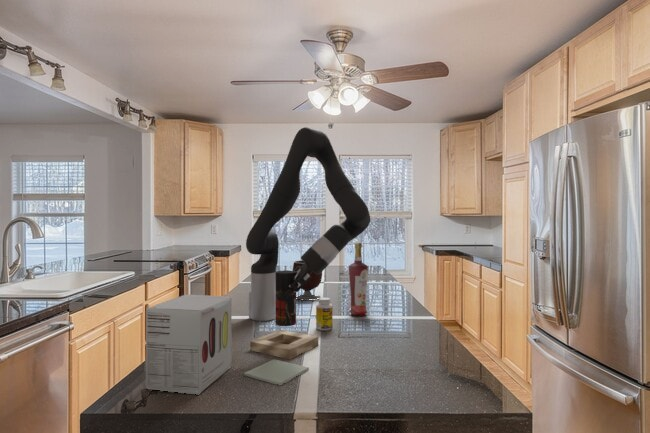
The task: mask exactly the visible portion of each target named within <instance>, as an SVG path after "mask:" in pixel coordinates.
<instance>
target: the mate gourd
mask: <svg viewBox="0 0 650 433" xmlns="http://www.w3.org/2000/svg"><path fill="white" fill-rule="evenodd" d="M303 264H304V262H303V261H302V260H301V259H300V260H296V261H293V265H292V271H293V270H294V269H295V268H296V267H297V266H300V267H301V266H302V265H303ZM310 276H311V277H312V278H311V280H309V281H308V282H307V283H306V284H305V285H304V286H303V287H302V288H301V289H300V290H303V291H304V292H303V295H302V294H299V295H300V296H298V297H296V298H297V299H303V300H309V299H317V298H321V295H319V294H317V295H318V296H315V295H316V294H313V295H312V292H311V291H313V290H314V289H316V288H317V287H319V286H320V284H321V282H322V278H323V271H322V272H321V273H320V274H319V275H317V274H316V273H314V272H312V273H311V275H310ZM296 286H297V285H296Z"/></svg>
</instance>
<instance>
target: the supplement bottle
mask: <svg viewBox="0 0 650 433" xmlns="http://www.w3.org/2000/svg"><path fill="white" fill-rule="evenodd" d="M333 308H334V307H333V304H332V303H331V298H330V297H320V298H319V299H318V303H317V304H316V306H315V309H316V310H315V320H316V321H315V328H316V329H317V330H318V331H330V330H332V329H333Z"/></svg>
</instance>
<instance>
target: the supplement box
mask: <svg viewBox="0 0 650 433" xmlns="http://www.w3.org/2000/svg"><path fill="white" fill-rule="evenodd" d="M232 299H233V298H232V296H230V295H229V296H226V295H224V296H223V295H208V294H206V295H205V294H203V295H202V294H183V295H180V296H178V297H174V298H172V299H169V300H165V301H163V302H161V303H157V304H155V305H152V306H149V307H147V308H146V307H145V308H146V311H145V314H146V315H145V316H146V318H145V322H146V324H145V325H146V326H145V329H146V330H145V389H146V388H148V389H155V390H160V391H159V392H163V391H168V392H167V393H174V392H178V393H177V394H184V393H186V394H185V395H195V394H196V396H197V395H201V393H203V392H204V391H205V389H207V388H208V387H209V386H211V385H212V384H214V382H216V380H217V379H219V378H220V377H221V376H223V375H224V374H225V373H226V372H227V371H229V370H230V369H231V368H232V322H233V321H232V317H233V316H232V314H233V313H232V312H233V311H232V310H233V307H232V305H233V302H232Z"/></svg>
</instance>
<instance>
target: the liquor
mask: <svg viewBox="0 0 650 433" xmlns="http://www.w3.org/2000/svg"><path fill="white" fill-rule="evenodd" d="M362 247H363V246H362V242H354V250H355V251H354V261H353V263H351V264H350V265H348V280H349V282H348V283H349V295H350V296H349V303H350V304H349V306H350V310H349V313H350V314H351V315H352V316H353V317H357V318H358V317H364V316H365V315H366V314H368V311H367V288H368V273H369V272H368V268H369V266H368V265H367V264H366V263H363V258H362Z"/></svg>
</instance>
